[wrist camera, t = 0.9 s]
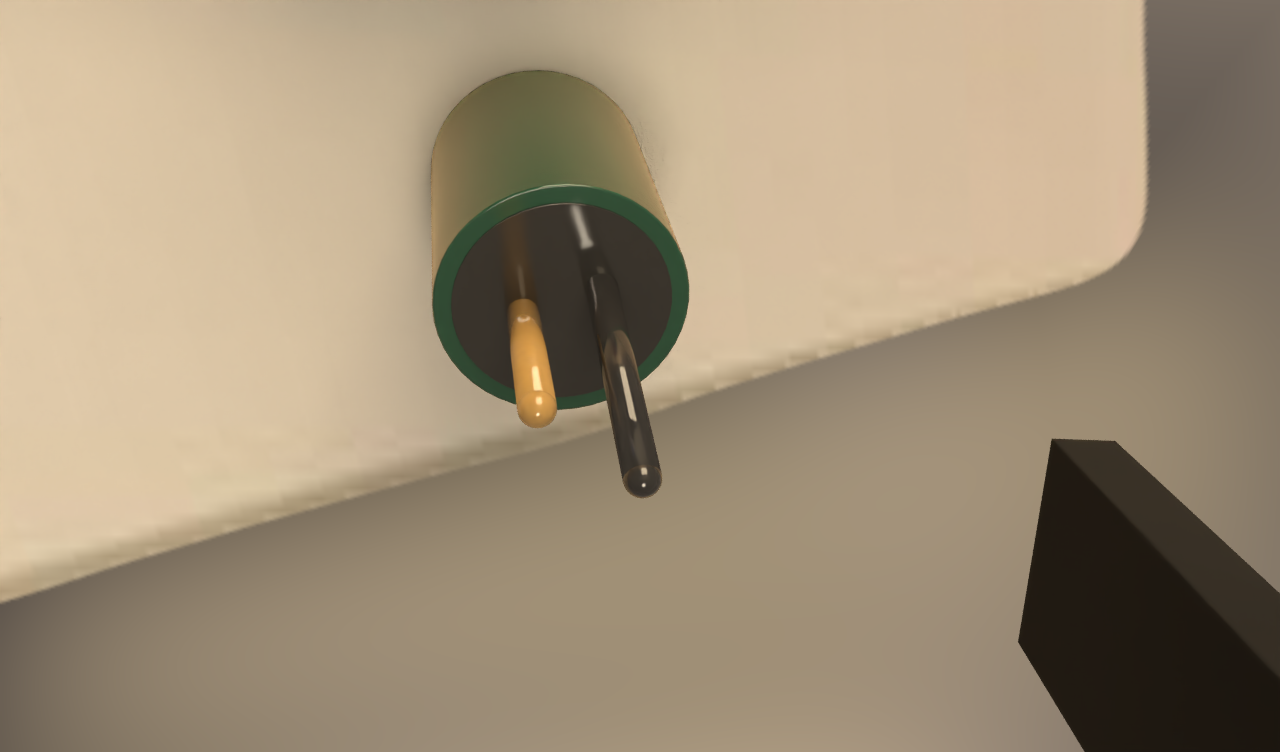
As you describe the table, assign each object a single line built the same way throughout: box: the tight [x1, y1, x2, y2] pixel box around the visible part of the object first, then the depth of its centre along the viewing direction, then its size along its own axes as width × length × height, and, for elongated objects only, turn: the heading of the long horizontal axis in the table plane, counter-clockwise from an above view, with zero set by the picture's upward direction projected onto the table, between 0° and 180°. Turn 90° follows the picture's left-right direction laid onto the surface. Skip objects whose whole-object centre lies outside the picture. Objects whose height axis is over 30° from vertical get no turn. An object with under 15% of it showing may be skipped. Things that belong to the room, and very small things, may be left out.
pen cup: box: [431, 71, 689, 498], centre depth 33 cm, size 7×7×16 cm
